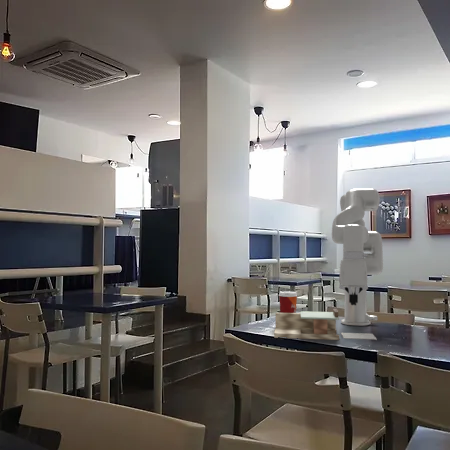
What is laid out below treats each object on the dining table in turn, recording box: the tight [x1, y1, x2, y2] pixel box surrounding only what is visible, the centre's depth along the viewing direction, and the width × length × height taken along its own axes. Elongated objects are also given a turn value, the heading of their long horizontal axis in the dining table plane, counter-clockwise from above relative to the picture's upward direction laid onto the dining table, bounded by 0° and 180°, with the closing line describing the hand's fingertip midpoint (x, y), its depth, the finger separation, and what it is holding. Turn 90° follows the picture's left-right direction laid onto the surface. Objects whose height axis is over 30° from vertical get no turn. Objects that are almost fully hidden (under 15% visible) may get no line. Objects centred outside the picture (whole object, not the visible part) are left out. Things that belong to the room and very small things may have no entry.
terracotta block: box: [313, 319, 327, 334], centre depth 181 cm, size 5×5×7 cm
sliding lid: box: [299, 308, 340, 321], centre depth 183 cm, size 14×15×3 cm
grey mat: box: [340, 332, 378, 341], centre depth 181 cm, size 12×10×1 cm
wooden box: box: [273, 312, 340, 341], centre depth 184 cm, size 24×16×8 cm, turn 82°
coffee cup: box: [278, 291, 298, 313], centre depth 202 cm, size 8×8×15 cm
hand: (353, 304), depth 179 cm, fingers closed
